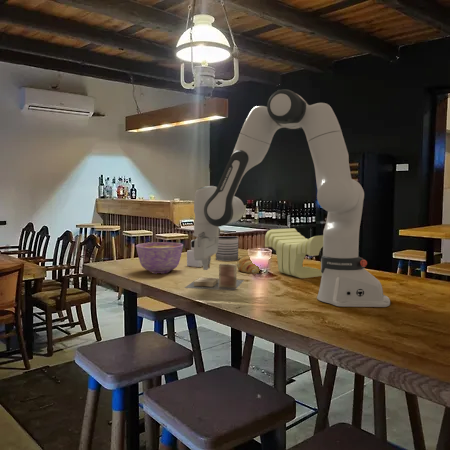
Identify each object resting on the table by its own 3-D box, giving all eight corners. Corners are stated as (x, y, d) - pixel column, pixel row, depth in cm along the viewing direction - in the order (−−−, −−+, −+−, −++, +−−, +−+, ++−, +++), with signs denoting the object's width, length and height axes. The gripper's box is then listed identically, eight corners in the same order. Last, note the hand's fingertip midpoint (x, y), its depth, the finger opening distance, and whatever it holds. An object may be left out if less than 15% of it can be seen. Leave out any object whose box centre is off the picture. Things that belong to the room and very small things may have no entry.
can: (212, 260, 230) (212, 236, 229) (219, 257, 241) (219, 233, 240) (234, 261, 227) (234, 237, 226) (241, 258, 238) (241, 234, 237)
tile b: (236, 286, 165) (236, 264, 165) (235, 287, 164) (235, 265, 163) (220, 285, 167) (220, 263, 166) (218, 286, 165) (218, 264, 164)
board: (244, 282, 177) (244, 280, 177) (234, 292, 160) (234, 290, 160) (198, 279, 181) (198, 277, 181) (184, 289, 164) (184, 287, 164)
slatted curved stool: (264, 270, 202) (265, 229, 201) (293, 267, 210) (294, 228, 209) (309, 283, 176) (310, 236, 175) (340, 278, 184) (341, 234, 182)
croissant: (263, 283, 192) (271, 266, 192) (242, 273, 189) (251, 255, 189) (247, 273, 212) (255, 257, 213) (228, 263, 209) (236, 248, 210)
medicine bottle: (208, 265, 216) (208, 239, 215) (199, 267, 210) (199, 240, 209) (195, 263, 219) (195, 238, 218) (186, 265, 213) (186, 239, 212)
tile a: (218, 278, 172) (212, 282, 164) (218, 282, 172) (212, 287, 165) (200, 277, 174) (193, 281, 166) (200, 281, 174) (193, 286, 166)
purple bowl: (129, 270, 202) (129, 243, 201) (172, 266, 212) (172, 241, 211) (145, 278, 185) (145, 249, 184) (191, 273, 195) (191, 246, 194)
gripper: (207, 234, 157) (207, 274, 158) (221, 229, 177) (221, 265, 178) (189, 233, 158) (189, 274, 159) (205, 228, 178) (205, 264, 179)
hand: (206, 269), depth 169 cm, fingers closed
